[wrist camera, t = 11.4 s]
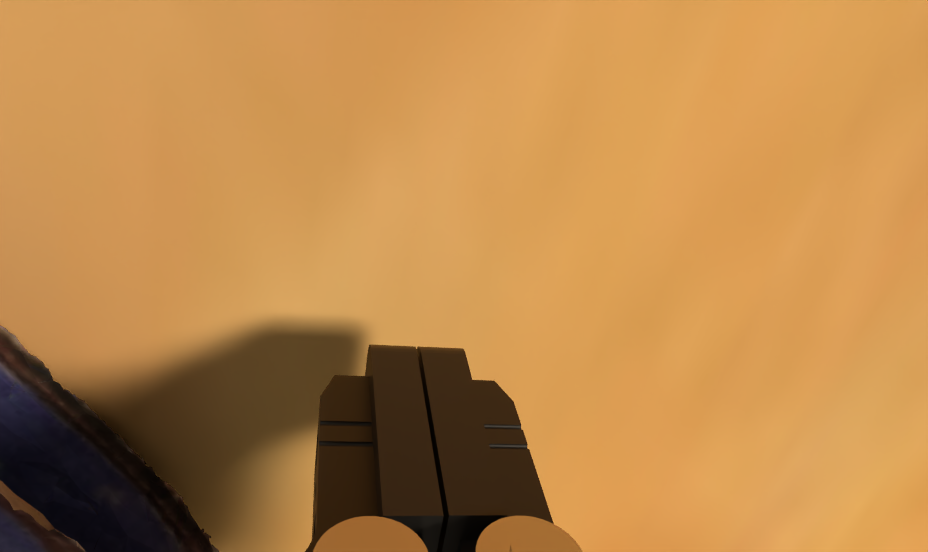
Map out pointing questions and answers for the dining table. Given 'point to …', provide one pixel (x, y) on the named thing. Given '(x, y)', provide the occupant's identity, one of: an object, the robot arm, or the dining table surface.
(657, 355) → the dining table surface
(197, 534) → the flask
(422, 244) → the dining table surface
